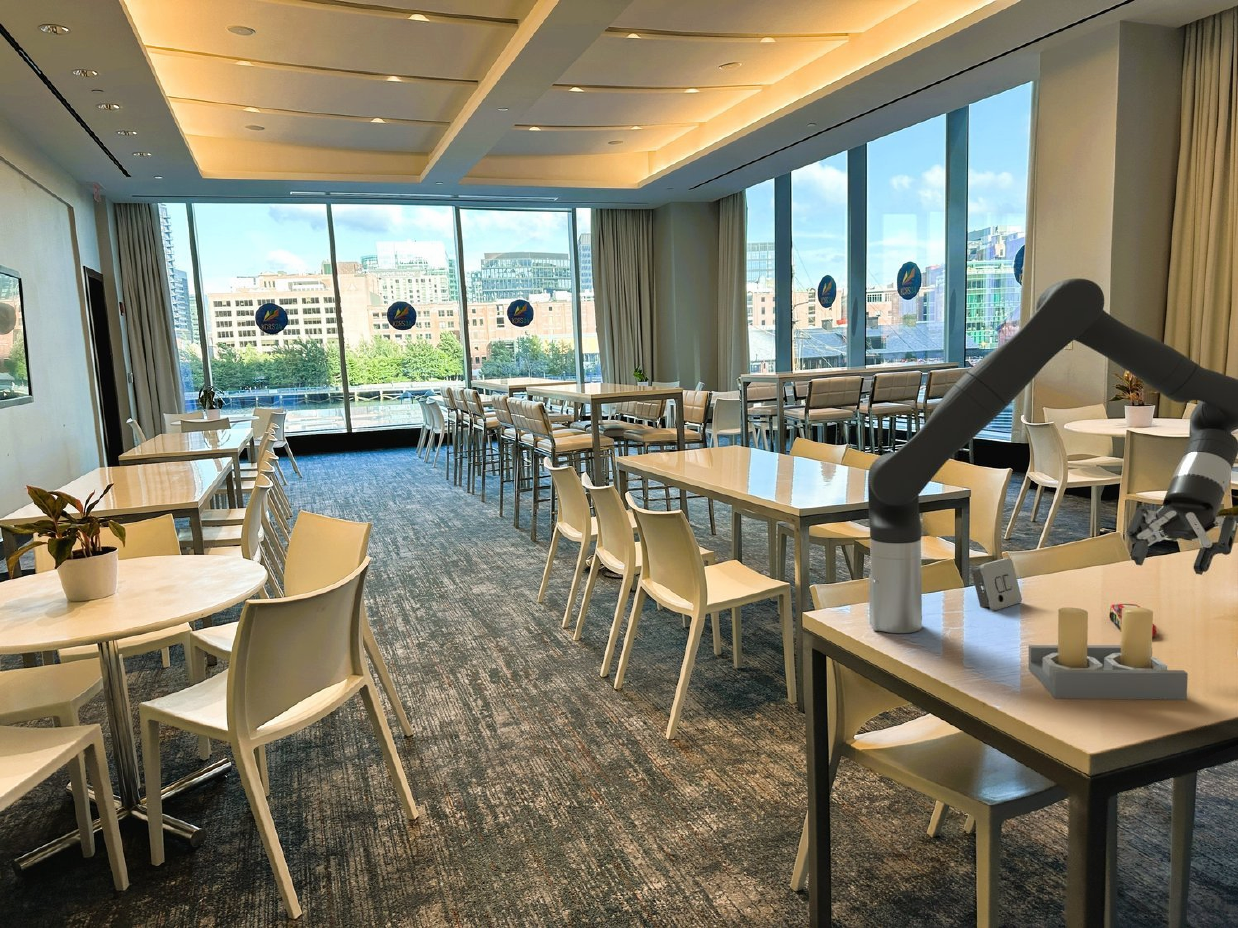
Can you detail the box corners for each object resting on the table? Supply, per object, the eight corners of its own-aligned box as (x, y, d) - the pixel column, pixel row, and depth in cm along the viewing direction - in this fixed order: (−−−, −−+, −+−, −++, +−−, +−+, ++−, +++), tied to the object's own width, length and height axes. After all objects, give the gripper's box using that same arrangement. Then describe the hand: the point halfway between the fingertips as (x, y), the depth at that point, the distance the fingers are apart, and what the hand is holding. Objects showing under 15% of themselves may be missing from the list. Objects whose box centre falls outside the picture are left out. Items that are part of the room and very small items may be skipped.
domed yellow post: (1126, 678, 127) (1128, 613, 126) (1115, 668, 131) (1117, 606, 130) (1155, 678, 126) (1157, 614, 125) (1143, 669, 130) (1145, 606, 129)
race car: (1159, 642, 147) (1160, 619, 146) (1124, 640, 148) (1125, 618, 148) (1139, 618, 159) (1139, 598, 158) (1106, 617, 161) (1107, 597, 160)
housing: (1055, 698, 125) (1055, 623, 124) (1028, 668, 137) (1029, 600, 135) (1186, 699, 122) (1189, 623, 121) (1147, 669, 134) (1149, 599, 133)
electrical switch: (994, 612, 167) (990, 565, 166) (971, 608, 171) (967, 563, 171) (1023, 603, 171) (1019, 558, 171) (1000, 600, 176) (996, 556, 176)
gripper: (1144, 469, 142) (1111, 547, 137) (1244, 475, 130) (1212, 560, 125) (1156, 495, 146) (1125, 572, 140) (1255, 504, 134) (1225, 588, 129)
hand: (1166, 567), depth 133 cm, fingers open, 8 cm apart
